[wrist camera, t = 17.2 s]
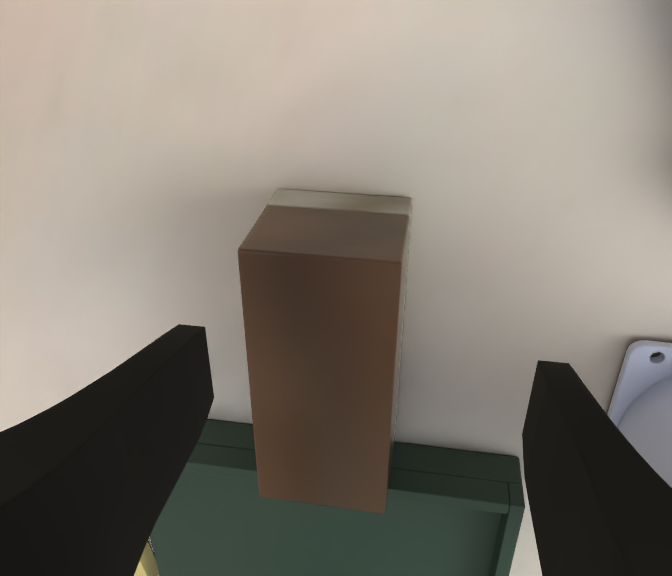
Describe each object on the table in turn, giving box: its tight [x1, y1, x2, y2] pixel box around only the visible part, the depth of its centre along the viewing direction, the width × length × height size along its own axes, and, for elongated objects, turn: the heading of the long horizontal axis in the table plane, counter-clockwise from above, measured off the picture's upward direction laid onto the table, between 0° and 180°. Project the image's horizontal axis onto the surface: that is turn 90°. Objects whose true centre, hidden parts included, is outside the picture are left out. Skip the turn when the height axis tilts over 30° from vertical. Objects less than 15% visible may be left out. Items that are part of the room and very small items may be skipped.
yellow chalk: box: [134, 541, 159, 576], centre depth 35 cm, size 1×4×1 cm
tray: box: [150, 419, 525, 576], centre depth 32 cm, size 18×16×3 cm
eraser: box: [238, 189, 412, 514], centre depth 23 cm, size 5×11×5 cm, turn 0°
